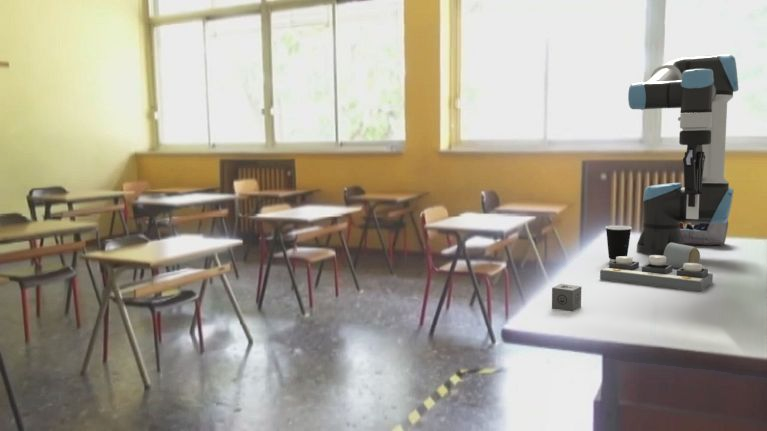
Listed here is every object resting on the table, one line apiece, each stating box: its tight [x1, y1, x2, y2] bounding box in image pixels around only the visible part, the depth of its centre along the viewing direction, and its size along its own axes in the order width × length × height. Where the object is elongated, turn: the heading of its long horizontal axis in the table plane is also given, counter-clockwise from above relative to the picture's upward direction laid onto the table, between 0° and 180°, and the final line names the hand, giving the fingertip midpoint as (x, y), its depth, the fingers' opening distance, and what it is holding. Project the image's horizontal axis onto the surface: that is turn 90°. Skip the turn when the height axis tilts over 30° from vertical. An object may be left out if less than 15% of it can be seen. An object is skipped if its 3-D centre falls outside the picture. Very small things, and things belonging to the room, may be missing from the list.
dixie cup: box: [605, 225, 633, 263], centre depth 204 cm, size 8×8×11 cm
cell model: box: [680, 219, 729, 246], centre depth 234 cm, size 13×11×20 cm
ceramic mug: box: [663, 243, 701, 270], centre depth 191 cm, size 11×8×8 cm
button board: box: [599, 260, 714, 292], centre depth 176 cm, size 12×26×4 cm, turn 51°
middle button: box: [648, 255, 666, 265], centre depth 177 cm, size 4×4×2 cm
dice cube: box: [551, 283, 582, 312], centre depth 150 cm, size 5×5×5 cm
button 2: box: [683, 263, 703, 273], centre depth 171 cm, size 4×4×2 cm
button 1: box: [616, 255, 634, 265], centre depth 182 cm, size 4×4×2 cm
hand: (692, 218), depth 172 cm, fingers closed
